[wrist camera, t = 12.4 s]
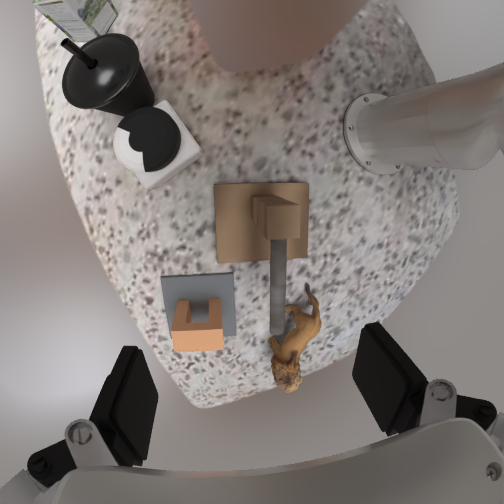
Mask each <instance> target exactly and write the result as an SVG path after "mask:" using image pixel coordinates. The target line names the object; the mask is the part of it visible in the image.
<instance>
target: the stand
mask: <svg viewBox="0 0 504 504" xmlns="http://www.w3.org/2000/svg"><path fill="white" fill-rule="evenodd" d="M214 199H215V223H216V243H217V260H218V263H230V262H247V261H263V260H270V333H271V334H273V335H281V334H283V333H284V321H285V296H286V263H287V259H295V258H307V248H308V216H309V183H235V184H214Z"/></svg>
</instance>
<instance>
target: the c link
mask: <svg viewBox="0 0 504 504" xmlns="http://www.w3.org/2000/svg"><path fill="white" fill-rule="evenodd" d="M191 319H192V318H191V310H190V303H189V300H178V302H177V306H176V311H175V315H174V319H173V323H172V328H171V336H172V341H173V346H174V350H175V352H185V351H209V350H224V339H223V326H222V313H221V300H220V298H214V299H209V322H193V323H191Z"/></svg>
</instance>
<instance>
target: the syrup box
mask: <svg viewBox="0 0 504 504" xmlns="http://www.w3.org/2000/svg"><path fill="white" fill-rule="evenodd" d="M31 5H32V6H33V7H34V8H36V9H37V10H38V11H39V12H40V13H42V14H43V15H44V16H45V17H46V18H48V19H49V20H50V21H51V22H52V23H53V24H55V25H56V26H57V27H58V28H59V29H60V30H62V31H63V32H64V33H65V34H66V35H67V36H68V37H69V38H71V39H72V40H73V41H90V40H92V39H94V38H96V37H98V36H101V35H104V34H106V33H107V31H108V30H109V28H110V26H111V25H112V23H113V22H114V20H115V18H116V17H117V15H118V12H117V11H116V9H115V7H114V6H113V4H112V2H111V1H110V0H34V1H33V2H32V4H31Z"/></svg>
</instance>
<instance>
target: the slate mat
mask: <svg viewBox="0 0 504 504" xmlns="http://www.w3.org/2000/svg"><path fill="white" fill-rule="evenodd" d="M161 285H162V291H163V298H164V304H165V310H166V315H167V321H168V326H169V331H170V336H171V328H172V323H173V319H174V315H175V311H176V306H177V302H178V300H189V303H190V310H191V318H192V319H191V323H193V322H209V299H214V298H220V300H221V313H222V326H223V336H236V320H235V301H234V280H233V273H217V274H200V275H181V276H161ZM171 339H172V336H171Z"/></svg>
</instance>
